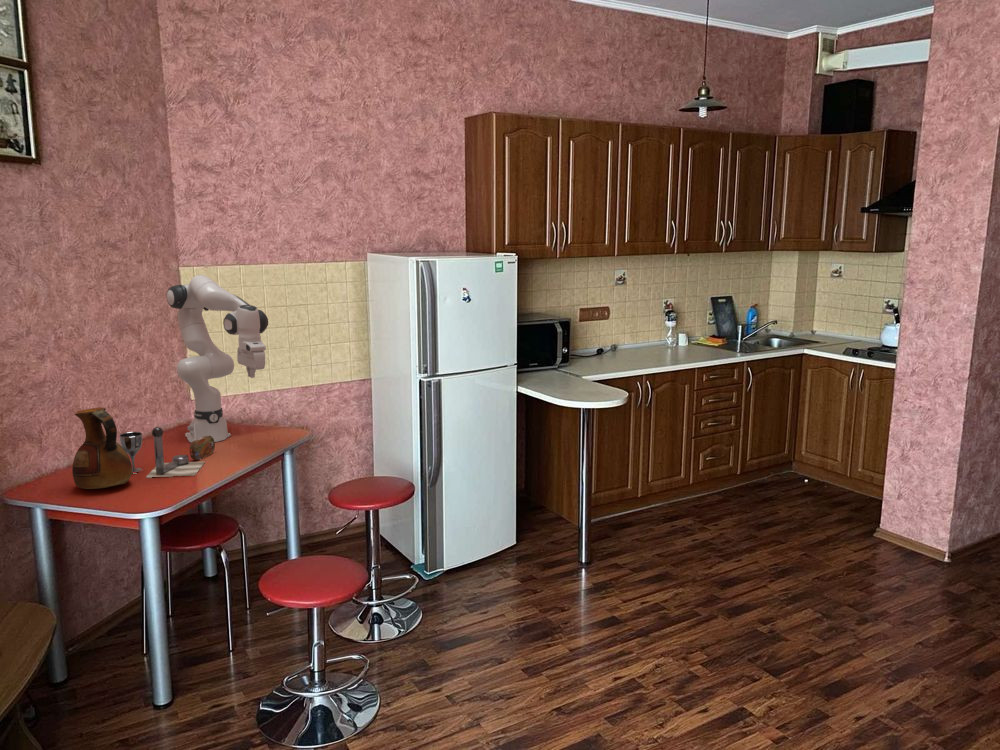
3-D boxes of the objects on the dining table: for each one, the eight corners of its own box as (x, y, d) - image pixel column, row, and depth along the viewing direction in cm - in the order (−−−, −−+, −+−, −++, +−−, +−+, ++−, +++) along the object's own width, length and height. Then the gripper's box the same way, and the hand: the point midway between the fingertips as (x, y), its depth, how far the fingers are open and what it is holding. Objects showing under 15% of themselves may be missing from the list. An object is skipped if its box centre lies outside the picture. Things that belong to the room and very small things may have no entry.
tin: (195, 462, 317) (194, 442, 315) (188, 462, 317) (187, 442, 316) (215, 452, 331) (214, 433, 330) (209, 452, 332) (208, 433, 330)
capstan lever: (178, 460, 316) (175, 416, 312) (191, 461, 315) (188, 417, 311) (150, 474, 297) (146, 428, 294) (164, 475, 296) (161, 428, 293)
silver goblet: (148, 470, 306) (146, 433, 303) (129, 475, 299) (126, 438, 296) (137, 466, 310) (134, 430, 307) (118, 471, 304) (115, 434, 301)
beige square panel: (159, 464, 313) (158, 462, 313) (205, 462, 316) (205, 461, 316) (146, 478, 296) (145, 476, 296) (195, 476, 298) (194, 474, 298)
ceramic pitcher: (106, 475, 299) (99, 400, 293) (145, 482, 291) (139, 405, 286) (61, 490, 281) (53, 411, 275) (102, 498, 273) (95, 416, 268)
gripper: (232, 342, 324) (234, 374, 326) (252, 348, 309) (254, 381, 311) (247, 341, 328) (248, 372, 330) (267, 346, 313) (269, 380, 315)
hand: (251, 377), depth 321 cm, fingers closed
